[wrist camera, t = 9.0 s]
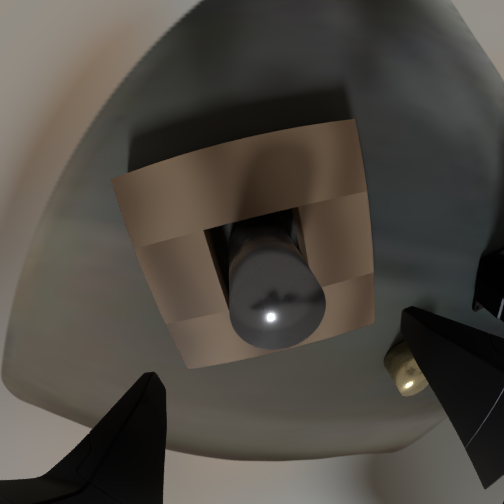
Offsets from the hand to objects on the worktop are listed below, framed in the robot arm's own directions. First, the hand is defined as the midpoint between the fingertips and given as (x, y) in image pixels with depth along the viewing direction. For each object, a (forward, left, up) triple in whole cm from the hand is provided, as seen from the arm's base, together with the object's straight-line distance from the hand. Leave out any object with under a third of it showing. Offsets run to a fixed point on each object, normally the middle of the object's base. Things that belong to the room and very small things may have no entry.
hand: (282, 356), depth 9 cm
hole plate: (0, 0, -11) cm, 11 cm away
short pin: (-12, +15, -11) cm, 22 cm away
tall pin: (0, 0, -11) cm, 11 cm away
